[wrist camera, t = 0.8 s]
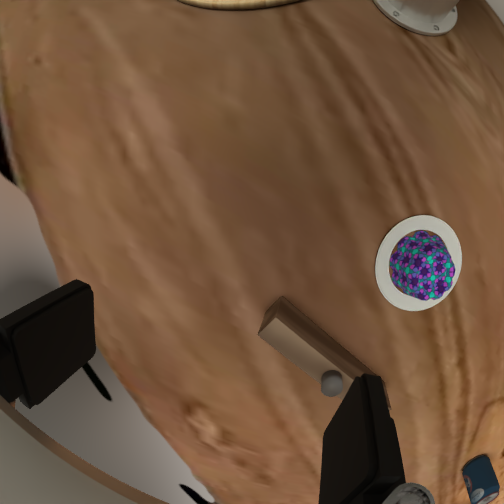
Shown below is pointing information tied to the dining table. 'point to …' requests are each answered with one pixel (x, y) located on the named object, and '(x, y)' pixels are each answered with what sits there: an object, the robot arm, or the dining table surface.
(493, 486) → the soda can
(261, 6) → the wooden plate with food
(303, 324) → the rail
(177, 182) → the dining table surface
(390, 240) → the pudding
